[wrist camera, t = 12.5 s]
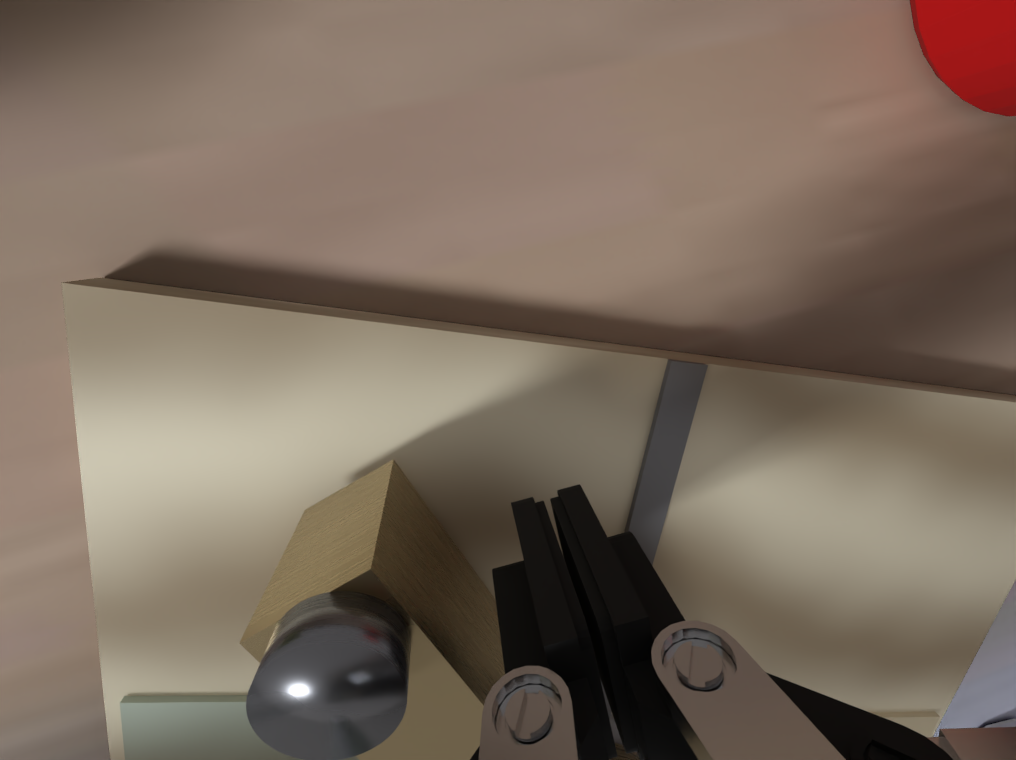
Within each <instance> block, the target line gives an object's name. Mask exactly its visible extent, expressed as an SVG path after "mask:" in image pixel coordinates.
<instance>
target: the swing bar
mask: <svg viewBox="0 0 1016 760" xmlns="http://www.w3.org/2000/svg"><path fill="white" fill-rule="evenodd" d="M239 643H240V644H241V645H242V646H243V647H244V648H245V649H246V650H247V651H248V652H249V653H250V654H251V655H252V656H253V657H254V658H255V659H256V660H257V661H258V662H259V663H260V665H259V667H258V669H257V672H256V674H255V677H254V679H253V681H252V684H251V686H250V688H249V691H248V695H247V700H246V712H247V717H248V720H249V723H250V725H251V727H252V729H253V730H254V732H255V733H256V734H257V736H258V737H259V738H260V739H261V740H262V741H263V742H265V743H266V744H267V745H268V746H270V747H271V748H273V749H275V750H276V751H278V752H280V753H283V754H285V755H288V756H291V757H294V758H298V759H303V760H341V759H346V758H350V757H354V756H356V757H357V758H358V759H359V760H470V759H471V757H472V756H473V754H474V753H475V751H476V750H477V749H478V747H479V746H480V735H481V722H482V712H483V707H484V703H485V699H486V697H487V695H488V694H489V692H490V690H491V688H492V686H493V685H494V684H495V683H496V682H497V681H498V680H499V679H500V678H501V677H502V676H504V675H505V670H504V662H503V654H502V646H501V638H500V630H499V623H498V615H497V607H496V599H495V598H494V596H493V595H492V594H491V592H490V591H489V590H488V588H487V587H486V585H485V584H484V583H483V581H482V580H481V579H480V577H479V576H478V574H477V573H476V572H475V570H474V569H473V568H472V566H471V565H470V563H469V562H468V561H467V559H466V558H465V556H464V555H463V554H462V552H461V551H460V550H459V548H458V547H457V545H456V544H455V543H454V541H453V540H452V539H451V537H450V536H449V534H448V533H447V532H446V530H445V529H444V528H443V526H442V525H441V523H440V522H439V521H438V519H437V518H436V517H435V515H434V514H433V512H432V511H431V510H430V508H429V507H428V506H427V504H426V503H425V501H424V500H423V499H422V497H421V496H420V495H419V493H418V492H417V490H416V489H415V488H414V486H413V485H412V484H411V482H410V481H409V479H408V478H407V477H406V475H405V474H404V473H403V471H402V470H401V468H400V467H399V466H398V464H397V463H396V461H395V460H394V459H393V460H391V461H389V462H388V463H386V464H384V465H382V466H381V467H379V468H377V469H375V470H374V471H372V472H370V473H368V474H367V475H365V476H363V477H361V478H360V479H358V480H356V481H354V482H353V483H351V484H349V485H347V486H346V487H344V488H342V489H340V490H339V491H337V492H335V493H333V494H332V495H330V496H328V497H326V498H325V499H323V500H321V501H319V502H317V503H316V504H314V505H312V506H310V507H309V508H307V509H305V511H304V513H303V515H302V517H301V519H300V521H299V523H298V525H297V527H296V529H295V531H294V533H293V535H292V537H291V539H290V541H289V543H288V545H287V547H286V549H285V551H284V553H283V555H282V557H281V559H280V561H279V563H278V565H277V567H276V569H275V571H274V573H273V576H272V578H271V580H270V582H269V584H268V586H267V588H266V590H265V592H264V594H263V596H262V598H261V600H260V602H259V604H258V606H257V608H256V610H255V612H254V614H253V616H252V618H251V620H250V622H249V624H248V626H247V628H246V630H245V632H244V634H243V636H242V638H241V640H240V642H239ZM615 747H616V751H617V757H615V758H612V759H609V760H640V759H639V756H638V754H637V753H636V752H632V753H628V754H626V752H625V750H624V747H623V745H621V744H617V743H615Z"/></svg>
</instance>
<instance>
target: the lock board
mask: <svg viewBox="0 0 1016 760" xmlns="http://www.w3.org/2000/svg"><path fill="white" fill-rule="evenodd" d="M61 285H62V295H63V305H64V315H65V324H66V334H67V344H68V354H69V363H70V373H71V383H72V393H73V402H74V412H75V422H76V432H77V441H78V451H79V461H80V471H81V480H82V490H83V500H84V510H85V519H86V529H87V539H88V549H89V558H90V568H91V578H92V588H93V597H94V607H95V617H96V627H97V637H98V646H99V656H100V666H101V676H102V685H103V695H104V705H105V715H106V724H107V734H108V744H109V754H110V760H303V759H298V758H294V757H291V756H288V755H285V754H283V753H280V752H278V751H276V750H275V749H273V748H271V747H270V746H268V745H267V744H266V743H265V742H263V741H262V740H261V739H260V738H259V737H258V736H257V734H256V733H255V732H254V730H253V729H252V727H251V725H250V723H249V720H248V717H247V712H246V700H247V695H248V691H249V688H250V686H251V684H252V681H253V679H254V677H255V674H256V672H257V669H258V667H259V665H260V663H259V662H258V661H257V660H256V659H255V658H254V657H253V656H252V655H251V654H250V653H249V652H248V651H247V650H246V649H245V648H244V647H243V646H242V645H241V644H240V643H239V642H240V640H241V638H242V636H243V634H244V632H245V630H246V628H247V626H248V624H249V622H250V620H251V618H252V616H253V614H254V612H255V610H256V608H257V606H258V604H259V602H260V600H261V598H262V596H263V594H264V592H265V590H266V588H267V586H268V584H269V582H270V580H271V578H272V576H273V573H274V571H275V569H276V567H277V565H278V563H279V561H280V559H281V557H282V555H283V553H284V551H285V549H286V547H287V545H288V543H289V541H290V539H291V537H292V535H293V533H294V531H295V529H296V527H297V525H298V523H299V521H300V519H301V517H302V515H303V513H304V511H305V509H307V508H309V507H310V506H312V505H314V504H316V503H317V502H319V501H321V500H323V499H325V498H326V497H328V496H330V495H332V494H333V493H335V492H337V491H339V490H340V489H342V488H344V487H346V486H347V485H349V484H351V483H353V482H354V481H356V480H358V479H360V478H361V477H363V476H365V475H367V474H368V473H370V472H372V471H374V470H375V469H377V468H379V467H381V466H382V465H384V464H386V463H388V462H389V461H391V460H393V459H394V460H395V461H396V463H397V464H398V466H399V467H400V468H401V470H402V471H403V473H404V474H405V475H406V477H407V478H408V479H409V481H410V482H411V484H412V485H413V486H414V488H415V489H416V490H417V492H418V493H419V495H420V496H421V497H422V499H423V500H424V501H425V503H426V504H427V506H428V507H429V508H430V510H431V511H432V512H433V514H434V515H435V517H436V518H437V519H438V521H439V522H440V523H441V525H442V526H443V528H444V529H445V530H446V532H447V533H448V534H449V536H450V537H451V539H452V540H453V541H454V543H455V544H456V545H457V547H458V548H459V550H460V551H461V552H462V554H463V555H464V556H465V558H466V559H467V561H468V562H469V563H470V565H471V566H472V568H473V569H474V570H475V572H476V573H477V574H478V576H479V577H480V579H481V580H482V581H483V583H484V584H485V585H486V587H487V588H488V590H489V591H490V592H491V594H492V595H493V596H494V598H495V591H494V583H493V575H492V569H494V568H497V567H501V566H505V565H508V564H512V563H516V562H519V561H523V560H524V559H523V554H522V550H521V545H520V541H519V537H518V532H517V528H516V523H515V519H514V515H513V510H512V506H511V502H515V501H519V500H523V499H526V498H530V497H533V498H534V501H535V503H536V502H540V501H544V503H545V506H546V509H547V511H548V514H549V517H550V520H551V523H552V526H553V529H554V531H555V534H556V537H557V540H558V543H559V546H560V549H561V544H560V540H559V536H558V531H557V527H556V523H555V518H554V514H553V510H552V506H551V501H550V499H551V498H554V497H558V493H557V490H560V489H563V488H567V487H571V486H574V485H578V484H580V485H581V487H582V489H583V491H584V493H585V495H586V496H587V498H588V500H589V502H590V504H591V506H592V508H593V510H594V512H595V514H596V516H597V518H598V520H599V522H600V524H601V526H602V527H603V529H604V531H605V533H606V535H607V537H610V536H614V535H617V534H621V533H625V532H628V531H630V532H632V534H633V535H634V536H635V538H636V539H637V541H638V543H639V544H640V546H641V548H642V549H643V551H644V553H645V554H646V556H647V558H648V559H649V561H650V563H651V564H652V566H653V568H654V569H655V571H656V573H657V574H658V576H659V577H660V579H661V581H662V582H663V584H664V586H665V587H666V589H667V591H668V592H669V594H670V596H671V597H672V599H673V601H674V602H675V604H676V606H677V607H678V609H679V611H680V612H681V614H682V615H683V617H684V619H685V620H686V621H701V622H705V623H709V624H712V625H714V626H716V627H718V628H720V629H722V630H725V631H726V632H727V633H728V634H729V635H731V636H732V637H733V638H734V639H735V640H736V641H737V642H738V643H739V644H740V645H741V646H742V647H743V648H744V649H745V650H746V652H747V653H748V654H749V655H750V656H751V657H752V658H753V659H754V660H755V661H756V662H757V664H758V665H759V666H760V667H761V668H762V669H763V670H764V671H765V672H766V673H769V674H772V675H774V676H777V677H779V678H782V679H785V680H787V681H790V682H792V683H795V684H797V685H800V686H803V687H805V688H808V689H810V690H813V691H816V692H818V693H821V694H823V695H826V696H829V697H831V698H834V699H836V700H839V701H841V702H844V703H847V704H849V705H852V706H854V707H857V708H860V709H862V710H865V711H867V712H870V713H872V714H875V715H878V716H880V717H883V718H885V719H888V720H891V721H893V722H896V723H898V724H901V725H903V726H906V727H908V728H910V729H912V730H914V731H916V732H918V733H920V734H922V735H924V736H925V737H933V735H934V733H935V731H936V729H937V727H938V725H939V724H940V722H941V720H942V718H943V716H944V714H945V712H946V710H947V708H948V707H949V705H950V703H951V701H952V699H953V697H954V695H955V693H956V691H957V690H958V688H959V686H960V684H961V682H962V680H963V678H964V676H965V674H966V673H967V671H968V669H969V667H970V665H971V663H972V661H973V659H974V657H975V656H976V654H977V652H978V650H979V648H980V646H981V644H982V642H983V640H984V639H985V637H986V635H987V633H988V631H989V629H990V627H991V625H992V623H993V622H994V620H995V618H996V616H997V614H998V612H999V610H1000V608H1001V606H1002V605H1003V603H1004V601H1005V599H1006V597H1007V595H1008V593H1009V591H1010V589H1011V588H1012V586H1013V584H1014V582H1015V580H1016V395H1009V394H1001V393H994V392H986V391H978V390H970V389H963V388H955V387H947V386H939V385H931V384H924V383H916V382H908V381H900V380H893V379H885V378H877V377H869V376H861V375H854V374H846V373H838V372H830V371H823V370H815V369H807V368H799V367H792V366H784V365H776V364H768V363H760V362H753V361H745V360H737V359H729V358H722V357H714V356H706V355H698V354H691V353H683V352H675V351H667V350H659V349H652V348H644V347H636V346H628V345H621V344H613V343H605V342H597V341H590V340H582V339H574V338H566V337H558V336H551V335H543V334H535V333H527V332H520V331H512V330H504V329H496V328H488V327H481V326H473V325H465V324H457V323H450V322H442V321H434V320H426V319H419V318H411V317H403V316H395V315H387V314H380V313H372V312H364V311H356V310H349V309H341V308H333V307H325V306H318V305H310V304H302V303H294V302H286V301H279V300H271V299H263V298H255V297H248V296H240V295H232V294H224V293H216V292H209V291H201V290H193V289H185V288H178V287H170V286H162V285H154V284H147V283H139V282H131V281H123V280H115V279H108V278H94V279H86V280H79V281H71V282H63V283H61ZM561 551H562V549H561ZM562 554H563V553H562ZM600 680H601V679H600ZM601 684H602V682H601ZM602 689H603V693H604V698H605V702H606V707H607V711H608V715H609V720H610V724H611V729H612V733H613V738H614V742H615V743H617V744H621V745H623V744H622V741H621V738H620V735H619V732H618V729H617V726H616V723H615V720H614V717H613V714H612V711H611V709H610V706H609V703H608V700H607V697H606V694H605V691H604V688H603V685H602ZM635 752H636V753H637V751H635ZM341 760H359V759H358V758H357V757H356V756H354V757H350V758H346V759H341Z"/></svg>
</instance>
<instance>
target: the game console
mask: <svg viewBox="0 0 1016 760" xmlns="http://www.w3.org/2000/svg"><path fill="white" fill-rule="evenodd" d="M992 727H1016V718H1014V719H1010V720H1006V721H1002V722H998V723H994V724H990V725H986V726H985V727H984V728H992Z"/></svg>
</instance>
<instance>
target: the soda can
mask: <svg viewBox="0 0 1016 760" xmlns="http://www.w3.org/2000/svg"><path fill="white" fill-rule="evenodd" d="M910 5H911V11H912V17H913V24H914V29H915V32H916V35H917V38H918V40H919V43H920V46H921V49H922V52H923V55H924V56H925V58H926V59H927V61H928V63H929V64H930V66H931V67H932V69H933V71H934V72H935V74H936V75H937V77H938V78H940V79H941V80H942V81H943V82H944V83H945V84H946V85H947V86H948V87H949V88H950V89H951V90H952V91H953V92H954V93H955V94H957V95H958V96H959V97H960V98H961V99H963V100H964V101H966V102H968V103H970V104H972V105H974V106H975V107H977V108H979V109H981V110H983V111H986V112H991V113H995V114H1000V115H1005V116H1016V0H910Z"/></svg>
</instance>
